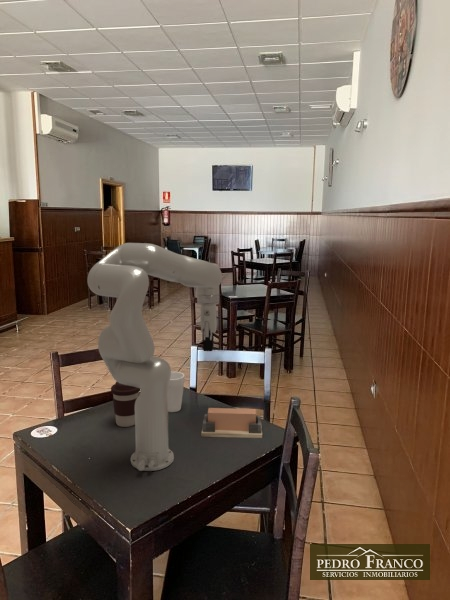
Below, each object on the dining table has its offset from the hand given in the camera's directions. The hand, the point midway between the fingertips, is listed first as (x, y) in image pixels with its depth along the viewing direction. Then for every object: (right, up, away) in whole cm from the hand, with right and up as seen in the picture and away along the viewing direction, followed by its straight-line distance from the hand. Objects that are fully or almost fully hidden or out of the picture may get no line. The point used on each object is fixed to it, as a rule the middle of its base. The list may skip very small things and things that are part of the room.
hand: (208, 350), depth 156 cm
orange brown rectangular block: (+8, -25, -6) cm, 27 cm away
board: (+8, -27, -6) cm, 28 cm away
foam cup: (-14, -24, +12) cm, 30 cm away
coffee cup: (-28, -26, 0) cm, 38 cm away
